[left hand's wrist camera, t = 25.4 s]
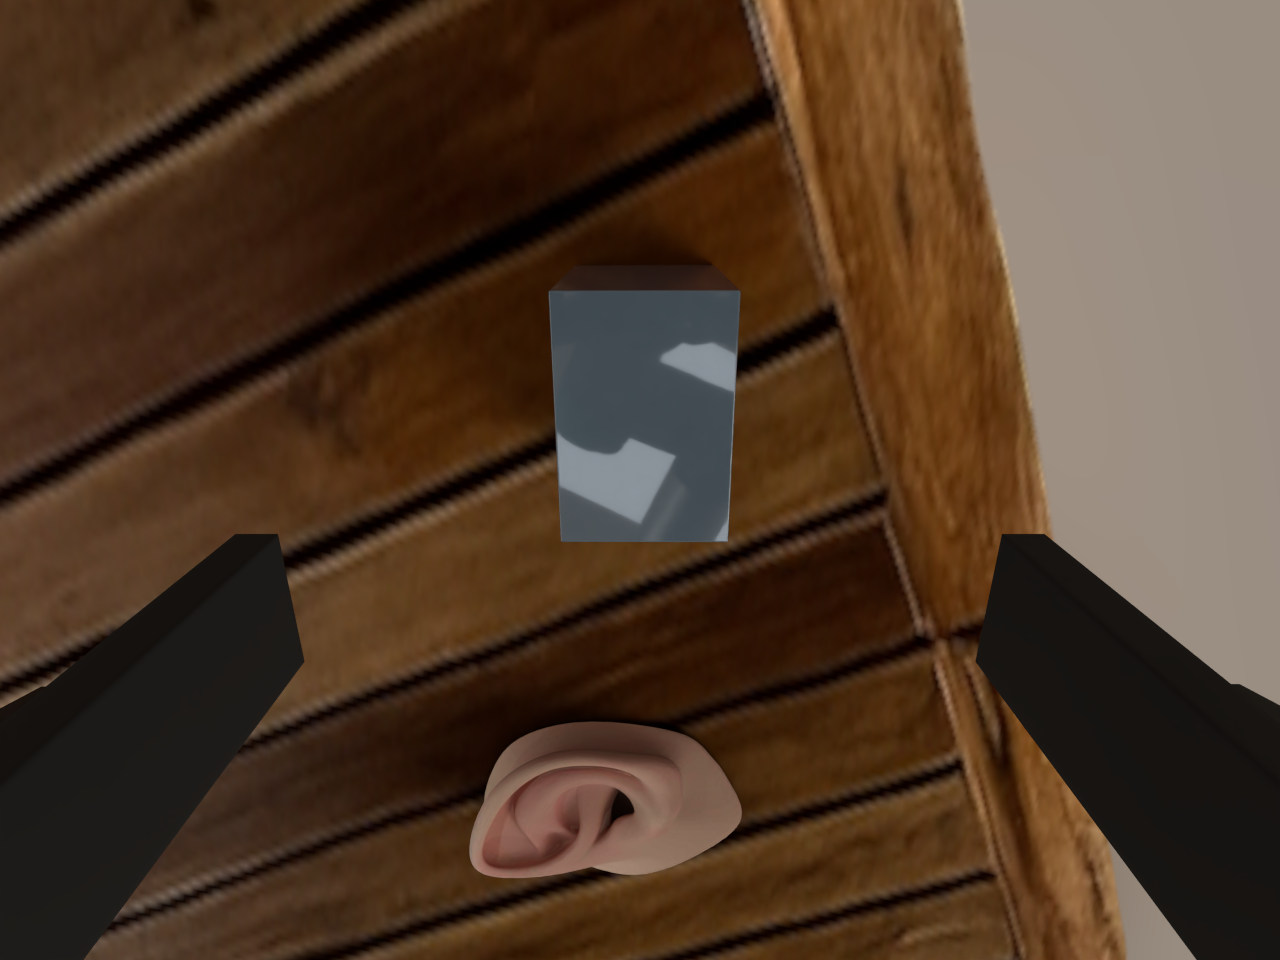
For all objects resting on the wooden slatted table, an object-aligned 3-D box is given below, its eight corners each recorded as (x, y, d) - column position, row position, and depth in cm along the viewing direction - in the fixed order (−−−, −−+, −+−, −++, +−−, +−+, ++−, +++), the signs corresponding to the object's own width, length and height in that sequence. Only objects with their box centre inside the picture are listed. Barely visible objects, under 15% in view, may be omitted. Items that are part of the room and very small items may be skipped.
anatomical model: (789, 851, 34) (648, 974, 38) (775, 787, 38) (647, 904, 41) (566, 720, 31) (435, 867, 35) (574, 665, 35) (455, 802, 38)
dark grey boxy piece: (707, 457, 31) (727, 542, 23) (581, 457, 31) (560, 542, 23) (714, 265, 28) (740, 290, 20) (574, 265, 28) (548, 290, 20)
